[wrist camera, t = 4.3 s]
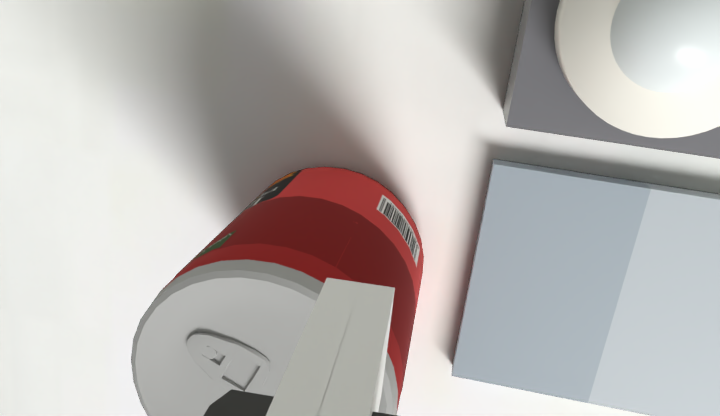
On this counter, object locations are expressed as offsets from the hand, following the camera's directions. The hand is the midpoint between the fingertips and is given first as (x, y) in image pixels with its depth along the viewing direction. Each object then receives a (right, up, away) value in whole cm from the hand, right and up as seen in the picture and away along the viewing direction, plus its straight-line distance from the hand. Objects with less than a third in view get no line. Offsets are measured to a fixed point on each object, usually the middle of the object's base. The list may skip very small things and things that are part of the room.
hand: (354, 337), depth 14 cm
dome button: (+10, +9, +8) cm, 16 cm away
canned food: (-1, +1, +14) cm, 14 cm away
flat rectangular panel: (+14, -1, +12) cm, 18 cm away
